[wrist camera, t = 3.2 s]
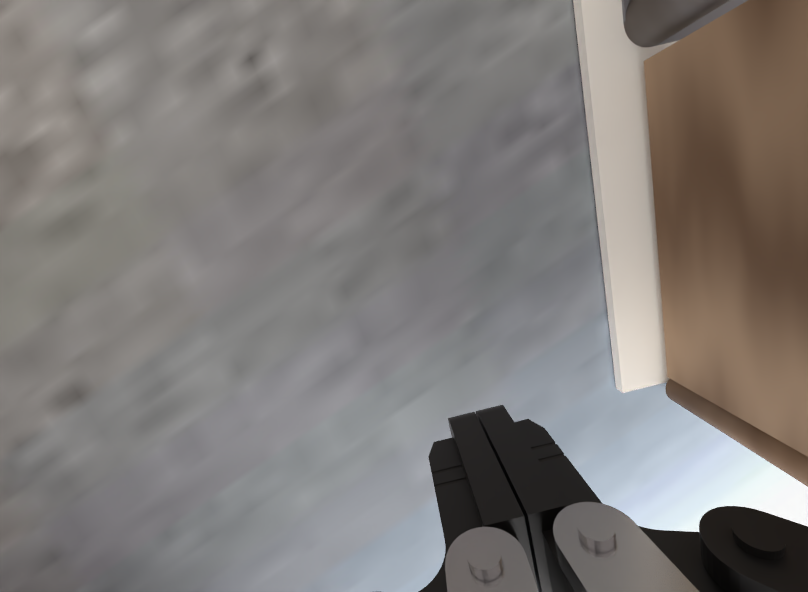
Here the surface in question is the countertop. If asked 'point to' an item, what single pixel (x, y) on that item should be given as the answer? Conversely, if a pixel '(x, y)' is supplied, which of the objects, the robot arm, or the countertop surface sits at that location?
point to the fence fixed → (663, 18)
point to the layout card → (625, 184)
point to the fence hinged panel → (736, 224)
